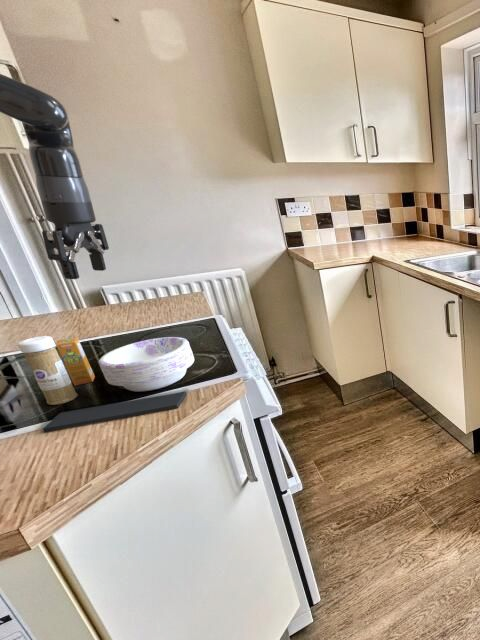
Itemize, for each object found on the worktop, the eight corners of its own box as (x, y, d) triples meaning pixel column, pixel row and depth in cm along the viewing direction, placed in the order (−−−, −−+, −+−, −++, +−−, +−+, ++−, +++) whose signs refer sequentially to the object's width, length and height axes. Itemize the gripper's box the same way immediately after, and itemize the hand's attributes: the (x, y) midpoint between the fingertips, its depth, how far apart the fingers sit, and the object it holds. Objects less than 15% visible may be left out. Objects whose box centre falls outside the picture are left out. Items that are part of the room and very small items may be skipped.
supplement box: (73, 386, 92) (53, 344, 88) (76, 381, 94) (57, 339, 91) (93, 382, 94) (75, 340, 90) (96, 376, 96) (78, 336, 92)
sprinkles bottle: (42, 407, 84) (11, 345, 78) (55, 397, 87) (26, 337, 82) (72, 403, 85) (43, 341, 80) (83, 393, 89) (56, 333, 84)
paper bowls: (98, 405, 84) (81, 369, 81) (129, 374, 97) (116, 342, 94) (188, 390, 89) (176, 356, 86) (206, 362, 102) (196, 332, 99)
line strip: (44, 432, 75) (42, 428, 75) (61, 416, 80) (60, 412, 80) (178, 408, 82) (176, 404, 82) (186, 394, 87) (185, 391, 87)
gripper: (70, 195, 94) (89, 267, 100) (14, 199, 82) (40, 281, 87) (109, 198, 96) (126, 268, 102) (61, 202, 83) (83, 282, 89)
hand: (86, 274), depth 95 cm, fingers open, 8 cm apart
